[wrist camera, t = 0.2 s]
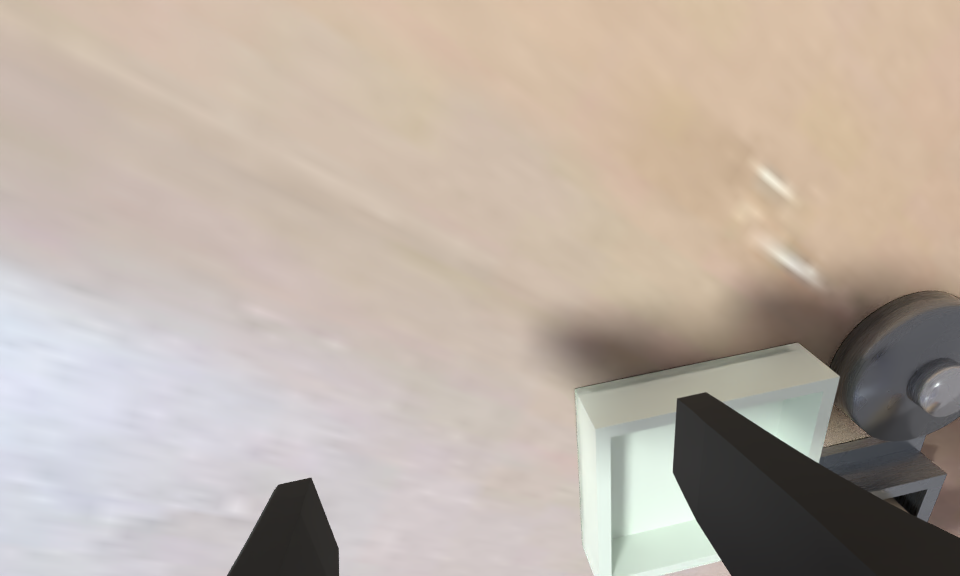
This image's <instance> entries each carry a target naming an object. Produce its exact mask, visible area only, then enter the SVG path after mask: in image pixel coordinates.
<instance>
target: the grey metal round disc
mask: <svg viewBox="0 0 960 576" xmlns="http://www.w3.org/2000/svg"><path fill="white" fill-rule="evenodd" d="M830 369H831V370H833V371H834V372H835V373H836V374H838V375H839V376H840V379H839V383H838V387H837V391H836V395H835V399H834V404H835V405H836V406H837V407H838V408H839V409H840V410H841V411H842V412H844V413H845V414H846V415H847V416H848V417H849V418H850V419H851V420H853V421H854V422H855V423H856V424H857V425H858V426H859V427H861V428H862V429H863V430H864V431H865V432H866V433H867V434H869V435H870V436H872V437H874V438H876V439H879V440H883V441H893V442H896V441H906V440H911V439H915V438H918V437H922V436H924V435H927V434H930V433H932V432H934V431H936V430H938V429H940V428H942V427H944V426H946V425H948V424H949V423H951V422H952V421H954V420H955V419H957V418H958V417H960V299H959V298H957V297H955V296H953V295H951V294H948V293H945V292H940V291H924V292H917V293H913V294H909V295H906V296H904V297H901V298H898V299H896V300H894V301H892V302H890V303H888V304H886V305H884V306H883V307H881V308H879V309H878V310H876V311H875V312H874V313H872V314H871V315H869V316H868V317H867V318H866V319H865V320H863V321H862V322H861V323H860V324H859V325H858V326H857V327H856V328H855V329H854V330H853V331H852V332H851V333H850V334H849V336H848V337H847V338H846V339H845V341H844V342H843V343H842V345H841V346H840V348H839V350H838V351H837V353H836V355H835V357H834V359H833V361H832V364H831V367H830Z"/></svg>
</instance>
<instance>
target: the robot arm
mask: <svg viewBox="0 0 960 576" xmlns="http://www.w3.org/2000/svg"><path fill="white" fill-rule="evenodd" d="M673 474H674V476H675V479H676V481H677V483H678V485H679V487H680V489H681V491H682V493H683V495H684V497H685V499H686V501H687V503H688V505H689V507H690V509H691V511H692V513H693V515H694V517H695V519H696V521H697V523H698V524H699V526H700V527H701V529H702V531H703V532H704V534H705V535H706V537H707V538H708V540H709V542H710V543H711V545H712V546H713V548H714V549H715V551H716V553H717V554H718V556H719V557H720V559H721V560H722V562H723V563H724V565H725V567H726V568H727V570H728V571H729V573H730V574H731V576H960V538H959V537H956V536H954V535H952V534H950V533H948V532H946V531H944V530H942V529H940V528H938V527H936V526H934V525H932V524H930V523H928V522H926V521H924V520H922V519H920V518H918V517H916V516H913V515H911V514H909V513H907V512H905V511H903V510H902V509H900V508H898V507H896V506H894V505H892V504H890V503H888V502H886V501H884V500H882V499H881V498H879V497H877V496H875V495H873V494H872V493H870V492H868V491H866V490H864V489H863V488H861V487H859V486H857V485H855V484H854V483H852V482H850V481H848V480H846V479H845V478H843V477H841V476H839V475H838V474H836V473H834V472H833V471H831V470H829V469H827V468H826V467H824V466H822V465H821V464H819V463H817V462H816V461H814V460H812V459H811V458H809V457H807V456H806V455H804V454H802V453H801V452H799V451H798V450H796V449H794V448H793V447H791V446H790V445H788V444H786V443H785V442H783V441H782V440H780V439H778V438H777V437H775V436H774V435H772V434H771V433H769V432H767V431H766V430H764V429H763V428H761V427H760V426H758V425H757V424H755V423H753V422H752V421H750V420H749V419H747V418H746V417H744V416H743V415H741V414H740V413H738V412H737V411H735V410H734V409H732V408H730V407H729V406H727V405H726V404H724V403H723V402H721V401H720V400H718V399H716V398H715V397H713V396H712V395H710V394H708V393H707V392H704V393H700V394H695V395H690V396H686V397H681V398H677V406H676V423H675V439H674V456H673ZM227 576H339V548H338V546H337V543H336V541H335V538H334V535H333V533H332V530H331V528H330V525H329V522H328V520H327V517H326V515H325V512H324V509H323V507H322V504H321V502H320V499H319V496H318V494H317V491H316V489H315V486H314V483H313V481H312V478H307V479H303V480H298V481H293V482H289V483H284V484H280V485H278V486H277V487H276V489H275V490H274V492H273V493H272V495H271V497H270V499H269V501H268V503H267V505H266V507H265V508H264V510H263V512H262V514H261V516H260V518H259V520H258V521H257V523H256V525H255V527H254V529H253V531H252V532H251V534H250V536H249V538H248V540H247V541H246V543H245V545H244V547H243V549H242V550H241V552H240V554H239V556H238V558H237V559H236V561H235V563H234V564H233V566H232V568H231V570H230V571H229V573H228V575H227Z"/></svg>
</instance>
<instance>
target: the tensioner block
mask: <svg viewBox="0 0 960 576" xmlns="http://www.w3.org/2000/svg"><path fill="white" fill-rule="evenodd" d="M925 437H926V435H924V436H922V437H918V438H915V439H911V440H906V441H896V442H893V441H883V440H879V439H876V438H874V437H869V438H865V439H861V440H856V441H852V442H847V443H843V444H839V445H834V446H830V447H825V448H822V452H821V456H820V460H819V464H821V465H822V466H824V467H826V468H827V469H829V470H831V471H833V472H834V473H836V474H838V475H839V476H841V477H843V478H845V479H846V480H848V481H850V482H852V483H854V484H855V485H857V486H859V487H861V488H863V489H864V490H866V491H868V492H870V493H872V494H873V495H875V496H877V497H879V498H881V499H882V500H884V499H888V498H892V497H893V498H894V499H895V500H896V501H897V502H898V503H899V504H900V505H901V506H902V507H903V508H904V509H905V510H906V511H907V512H908V513H909V514H911V515H913V516H916V517H918V518H920V519H922V520H924V521H926V522H928V519H929V517H930V515H931V512H932V510H933V507H934V505H935V502H936V500H937V497H938V495H939V492H940V490H941V488H942V485H943V483H944V480H945V478H946V475H947V474H946V473H945V472H944V471H943V470H941V469H940V468H939V467H938V466H937V465H935V464H934V463H933V462H932V461H931V460H929V459H928V458H927V457H926V456H925V455H923V454H922V453H921V452H920V451H921V448H922V445H923V442H924V440H925Z"/></svg>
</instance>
